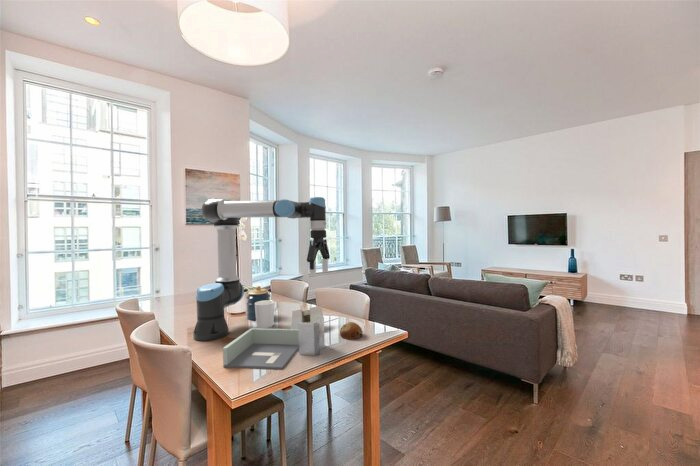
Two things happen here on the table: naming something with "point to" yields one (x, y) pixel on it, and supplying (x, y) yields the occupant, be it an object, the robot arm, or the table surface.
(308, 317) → the wall
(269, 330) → the corner tray
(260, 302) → the candle holder
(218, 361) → the table surface
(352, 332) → the bread roll
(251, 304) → the canister
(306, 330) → the angle bracket
